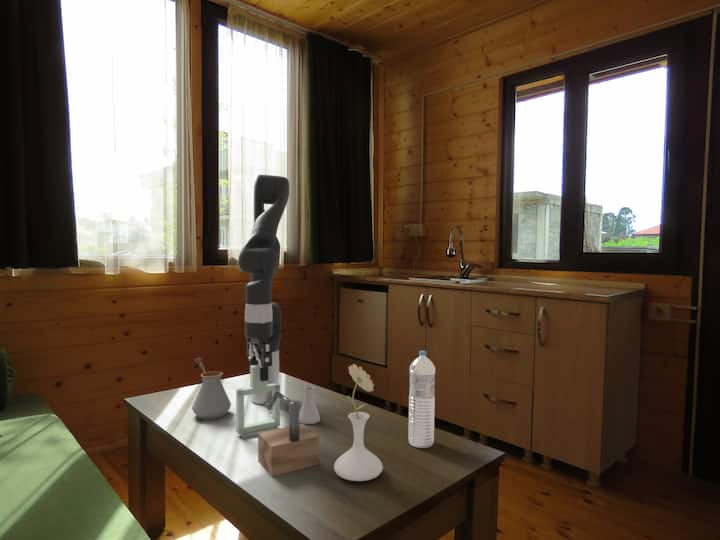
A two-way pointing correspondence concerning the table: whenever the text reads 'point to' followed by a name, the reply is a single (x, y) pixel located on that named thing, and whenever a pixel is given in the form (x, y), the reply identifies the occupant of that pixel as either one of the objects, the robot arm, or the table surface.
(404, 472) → the table surface
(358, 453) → the flower in vase
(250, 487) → the table surface
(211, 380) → the coffee pot
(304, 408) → the flask
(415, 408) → the water bottle
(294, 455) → the wooden block
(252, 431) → the square frame with post
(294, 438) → the bent wire
